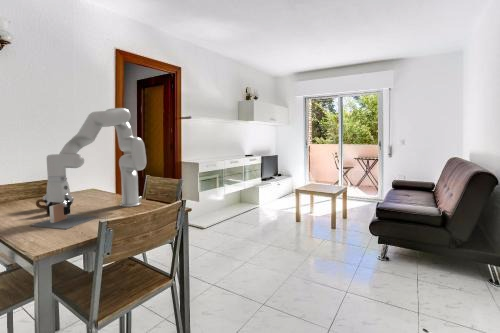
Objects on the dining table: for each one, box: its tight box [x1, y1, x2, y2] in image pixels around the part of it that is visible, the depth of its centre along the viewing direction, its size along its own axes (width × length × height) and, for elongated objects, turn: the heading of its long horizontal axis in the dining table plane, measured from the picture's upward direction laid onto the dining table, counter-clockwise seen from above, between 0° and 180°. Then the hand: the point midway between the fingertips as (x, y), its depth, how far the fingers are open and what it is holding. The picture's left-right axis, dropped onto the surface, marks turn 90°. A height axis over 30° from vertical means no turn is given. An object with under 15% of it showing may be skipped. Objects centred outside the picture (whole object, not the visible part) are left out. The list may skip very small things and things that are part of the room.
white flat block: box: [49, 203, 67, 223], centre depth 141 cm, size 7×2×8 cm, turn 168°
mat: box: [29, 214, 99, 230], centre depth 140 cm, size 20×20×1 cm
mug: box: [35, 198, 60, 217], centre depth 153 cm, size 12×8×9 cm, turn 130°
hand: (59, 213), depth 141 cm, fingers open, 9 cm apart
